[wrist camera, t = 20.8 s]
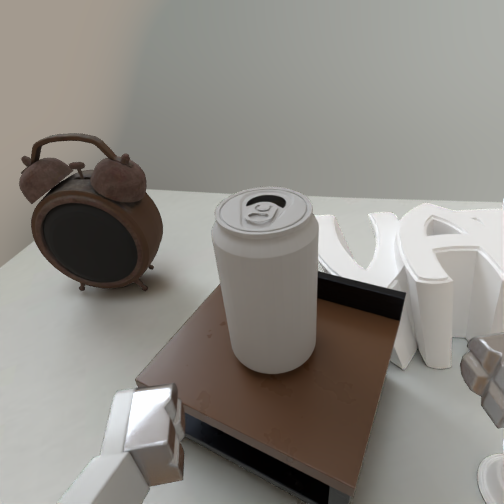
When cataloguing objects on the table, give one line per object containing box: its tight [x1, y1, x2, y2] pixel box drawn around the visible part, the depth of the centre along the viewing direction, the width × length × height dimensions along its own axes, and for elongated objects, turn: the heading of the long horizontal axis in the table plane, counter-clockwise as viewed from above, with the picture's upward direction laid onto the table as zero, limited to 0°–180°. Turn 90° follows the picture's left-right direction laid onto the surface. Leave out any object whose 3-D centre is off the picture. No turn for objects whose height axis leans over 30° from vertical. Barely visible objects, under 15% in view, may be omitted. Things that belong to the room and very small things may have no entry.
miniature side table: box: [135, 271, 406, 504], centre depth 29 cm, size 14×16×10 cm
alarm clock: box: [19, 133, 163, 291], centre depth 43 cm, size 15×7×20 cm, turn 85°
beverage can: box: [211, 187, 319, 374], centre depth 24 cm, size 6×6×12 cm
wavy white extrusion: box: [315, 200, 504, 370], centre depth 36 cm, size 35×16×11 cm, turn 84°
